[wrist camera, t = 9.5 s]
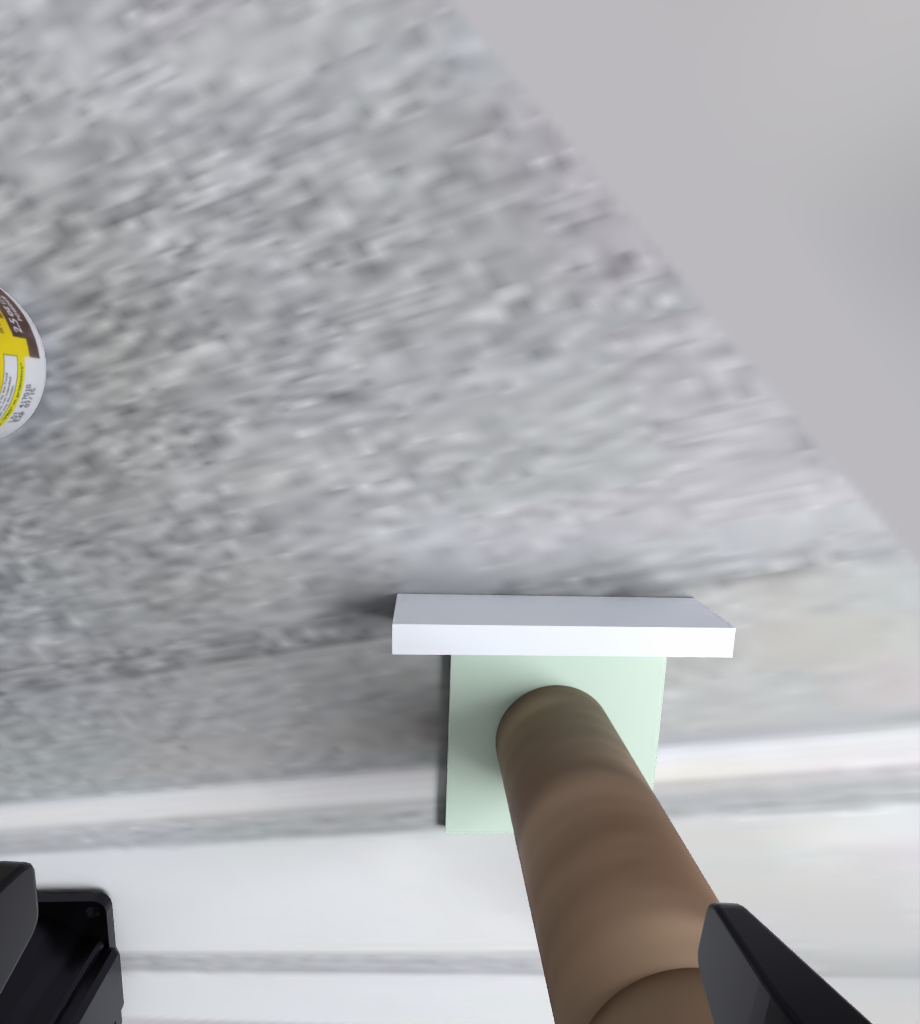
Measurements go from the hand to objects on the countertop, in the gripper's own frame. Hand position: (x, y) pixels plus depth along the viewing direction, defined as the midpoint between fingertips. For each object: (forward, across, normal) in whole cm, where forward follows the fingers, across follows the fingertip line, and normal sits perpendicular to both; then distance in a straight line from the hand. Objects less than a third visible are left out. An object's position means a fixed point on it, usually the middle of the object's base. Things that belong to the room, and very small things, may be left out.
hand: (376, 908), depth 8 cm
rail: (+14, -5, +1) cm, 15 cm away
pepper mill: (+13, -5, +6) cm, 15 cm away
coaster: (+14, -5, +6) cm, 16 cm away
